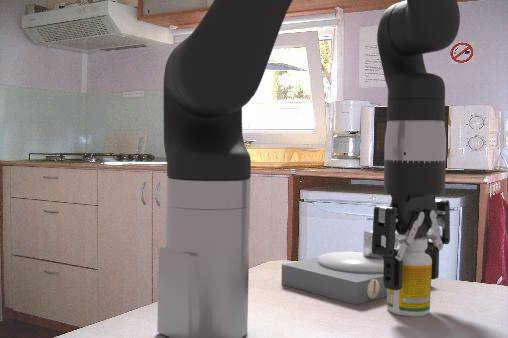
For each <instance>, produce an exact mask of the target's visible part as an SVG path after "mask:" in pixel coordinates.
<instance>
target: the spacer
mask: <svg viewBox="0 0 508 338" xmlns="http://www.w3.org/2000/svg"><path fill="white" fill-rule="evenodd" d="M372 235H373V229H365V230H363V247H362V252H363V257H365V258H370V259H383V257H381V256H379V255H376V254H373V253H372ZM385 240H386V238H385V237H384V236H383V235H382V236H381V245H382V246H383V244H384V242H385Z"/></svg>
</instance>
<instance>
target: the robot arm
mask: <svg viewBox="0 0 508 338" xmlns="http://www.w3.org/2000/svg"><path fill="white" fill-rule="evenodd" d="M293 1H294V0H213V1H212V3H211V5H210V6H209V8H208V10H207V12H206V13H205V15H204V16H203V17H202V19H201V20H200V22H199V23H198V25H197V26H196V28H195V29H194V30H193V31H192V33H190V35H189V36H188V37H186V38H185V39H183V41H181V42H180V43H179V44H177V45H176V46H175V47H174V49H172V51H171V53H170V54H169V56H168V58H167V60H166V64H165V67H164V73H163V74H164V75H163V148H164V153H165V158H166V176H167V178H166V218H165V219H166V223H165V224H166V225H165V226H166V231H165V234H166V235H165V236H166V237H165V245H164V246H159V248H158V254H157V255H158V257H157V262H158V263H157V264H158V265H157V326H156V327H157V333H159V334H161V335H163V336H165V337H167V338H243V337H244V336H246V335H247V333H248V324H249V323H248V317H249V272H250V271H249V269H250V266H249V265H250V230H251V229H250V226H251V225H250V221H251V220H250V219H251V184H252V183H251V180H252V179H251V175H252V174H251V172H252V171H251V170H252V163H251V162H252V160H251V155H250V153H249V151H248V149H247V147H246V144H245V141H244V135H243V107H245V106H246V105H247V104H249V102H250V101H251V100H252V98H253V97H254V96H255V95H256V93H257V91H258V89H259V87H260V84H261V82H262V81H263V77H264V74H265V71H266V69H267V66H268V63H269V61H270V57H271V55H272V52H273V49H274V46H275V43H276V41H277V39H278V36H279V33H280V30H281V28H282V25H283V22H284V20H285V18H286V15H287V13H288V11H289V8H290V7H291V4H292V3H293ZM460 13H461V12H460V7H459V3H458V0H402V1H399V2H397V3H394V4H392V5H391V6H388V7H387V9H386V10H384V12H383V14H382V15H381V17H380V20H379V22H378V26H377V33H376V41H377V49H378V54H379V59H380V63H381V68H382V72H383V76H384V80H385V83H386V88H387V105H386V106H387V108H386V109H387V111H386V116H387V117H386V121H387V122H386V130H385V136H384V157H383V158H384V159H383V162H384V165H383V169H384V170H383V191H384V193H386V194H387V195H389V196H391V201H390V205H389V206H386V205H385V206H384V205H375V206H374V209H373V217H372V218H373V219H372V224H373V225H372V230H373V235H372V253H373V254H376V255H379V256H381V257H383V260H384V269H383V272H384V273H383V275H384V276H383V281H384V286H385V288H387V289H391V290H400V289H401V288H402V270H403V260H401V259H402V257H403V255H404V252H405V250H406V247H407V246H409V245H411V244H412V242H413V239H414V238H417V237H419V236H422V237H426V238H427V249H426V250H425V253H426V254H428V255H429V256H430V257H431V259H432V272H431V280H437V279H439V273H440V269H439V268H440V251H442V250H443V248H444V245H449V243H450V241H451V224H450V223H451V222H450V221H451V217H450V216H451V215H450V213H451V211H450V210H451V208H450V207H451V205H450V201H449V200H447V199H440V198H439V199H438V198H436V197H440V196H442V195H444V194H445V192H446V165H447V164H446V163H447V162H446V161H447V135H446V127H445V123H446V122H445V121H446V120H445V119H446V118H445V115H446V111H445V110H446V85H445V81H444V80H443V78H442V77H441V76H440V75H437V74H435V73H429V72H427V69H426V65H425V61H424V54H429V53H435V52H440V51H443V50H445V49H447V48H448V47H450V46H451V45H452V44H453V43H454V41H455V39H456V37H457V35H458V33H459V29H460V24H461V14H460ZM440 227H441V228H440ZM382 235H383V236H384V237H385V238H386V240H385V242H384V244H383V246H382V245H381V236H382ZM395 243H396V244H398V245H397V248H395Z"/></svg>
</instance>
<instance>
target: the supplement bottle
mask: <svg viewBox="0 0 508 338" xmlns="http://www.w3.org/2000/svg"><path fill="white" fill-rule="evenodd" d="M397 245H398V244H396V243H395V248H394V249H396V248H397ZM426 249H427V238H426V237H422V236H419V237H417V238H414V239H413V242H412V244H411V245H409V246H407V247H406V250H405V252H404V255H403V257H402V259H401V260H403V270H402V288H401V289H400V290H391V289H387V296H386V308H387V310H388V311H389V313H392V314H395V315H398V316H402V317H413V318H414V317H415V318H416V317H417V318H419V317H425V316H427V315H429V313H430V312H431V311H430V310H431V293H432V292H431V290H432V279H431V272H432V259H431V257H430V256H429V255H428V254H426V253H425V250H426Z"/></svg>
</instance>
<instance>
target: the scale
mask: <svg viewBox="0 0 508 338" xmlns="http://www.w3.org/2000/svg"><path fill="white" fill-rule="evenodd" d="M383 269H384V260H383V259H370V258H365V257H363V251H359V250H352V251H335V252H334V251H333V252H327V253H322V254H320V255H319V256H318V257H315V258H309V259H303V260H298V261H293V262H288V263H283V264H281V285H284V286H286V287H289V288H290V287H291V288H294V289H298V290H302V291H305V292H308V293H312V294H316V295H320V296H323V297H327V298H329V299H330V298H331V299H335V300H338V301H342V302H345V303H348V304H352V305H355V306H357V305H361V304H363V303H367V302H371V301H374V300H378V299H381V298H385V297H387V288H385V286H384V281H383V276H384V275H383V273H384V272H383Z"/></svg>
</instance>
